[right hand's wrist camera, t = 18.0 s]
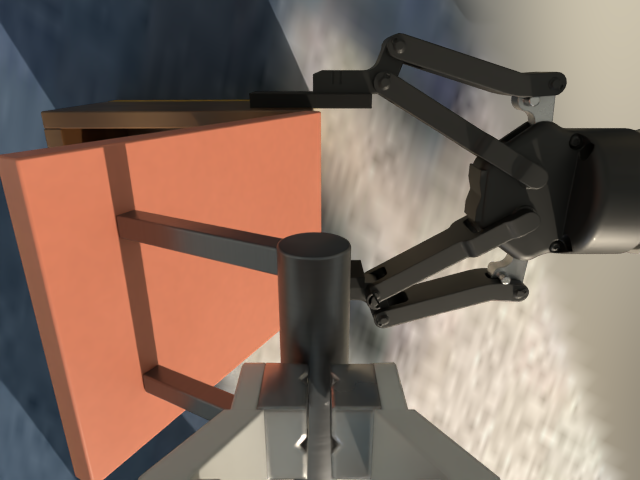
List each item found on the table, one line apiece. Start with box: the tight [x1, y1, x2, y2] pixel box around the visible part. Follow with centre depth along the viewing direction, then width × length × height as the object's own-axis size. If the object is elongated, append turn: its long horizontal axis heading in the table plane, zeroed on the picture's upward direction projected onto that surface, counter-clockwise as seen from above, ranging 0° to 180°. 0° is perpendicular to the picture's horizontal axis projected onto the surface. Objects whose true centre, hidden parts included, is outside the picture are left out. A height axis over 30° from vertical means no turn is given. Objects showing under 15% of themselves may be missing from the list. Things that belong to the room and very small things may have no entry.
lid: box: [0, 111, 351, 480], centre depth 17 cm, size 14×10×8 cm
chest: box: [41, 100, 313, 148], centre depth 29 cm, size 14×10×9 cm
